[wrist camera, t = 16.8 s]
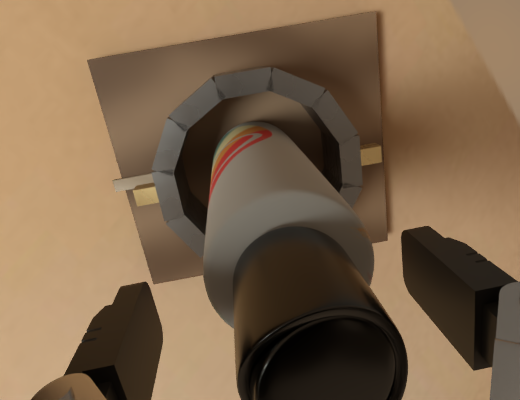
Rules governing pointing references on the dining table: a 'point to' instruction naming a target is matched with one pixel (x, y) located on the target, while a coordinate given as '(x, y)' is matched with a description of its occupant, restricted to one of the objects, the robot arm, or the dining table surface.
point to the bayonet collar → (234, 85)
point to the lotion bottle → (294, 277)
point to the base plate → (238, 115)
